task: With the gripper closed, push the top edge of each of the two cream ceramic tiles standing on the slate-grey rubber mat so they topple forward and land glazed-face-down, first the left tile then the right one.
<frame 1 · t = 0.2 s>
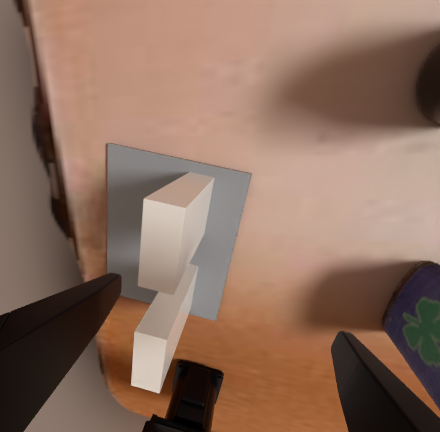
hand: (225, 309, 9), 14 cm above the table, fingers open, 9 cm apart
tile b: (197, 204, 22), resting on mat
flask: (406, 296, 23), on the table
mat: (169, 240, 24), on the table
tile a: (184, 285, 26), resting on mat
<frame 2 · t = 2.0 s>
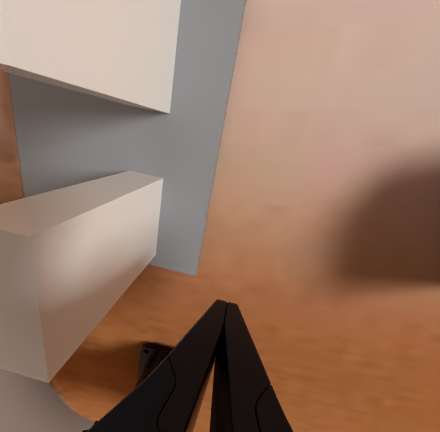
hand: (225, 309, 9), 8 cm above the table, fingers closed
tile b: (155, 52, 13), resting on mat
mat: (116, 136, 15), on the table
tile a: (143, 215, 16), resting on mat
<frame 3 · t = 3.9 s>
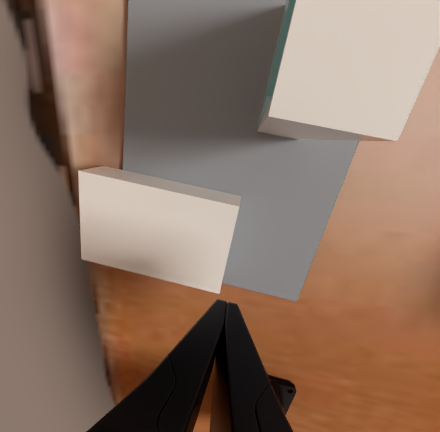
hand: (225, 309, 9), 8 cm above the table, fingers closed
tile b: (292, 77, 12), resting on mat
mat: (230, 160, 14), on the table
tile a: (230, 244, 14), point 2 cm above the table, tilted 90°, touching mat
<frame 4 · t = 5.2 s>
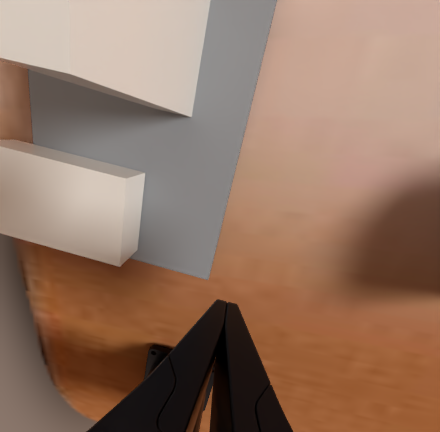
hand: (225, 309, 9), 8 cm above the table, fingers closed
tile b: (180, 55, 12), resting on mat
mat: (134, 137, 15), on the table
tile a: (132, 219, 15), point 2 cm above the table, tilted 90°, touching mat
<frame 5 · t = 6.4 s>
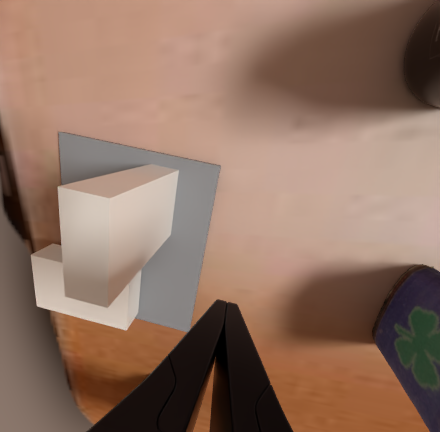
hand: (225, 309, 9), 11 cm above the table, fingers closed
tile b: (161, 201, 19), resting on mat
flask: (398, 304, 20), on the table
mat: (134, 242, 22), on the table
tile a: (134, 297, 22), point 2 cm above the table, tilted 90°, touching mat
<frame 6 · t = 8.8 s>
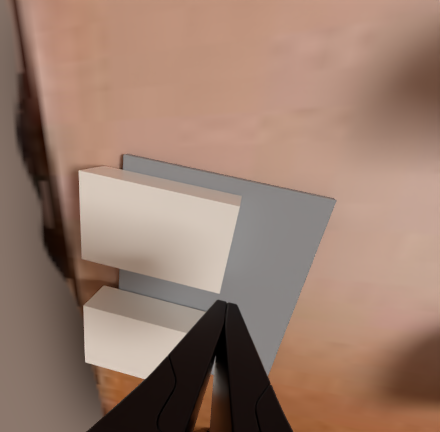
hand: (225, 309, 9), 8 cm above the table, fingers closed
tile b: (230, 244, 14), point 2 cm above the table, tilted 90°, touching mat
mat: (205, 285, 18), on the table
tile a: (205, 353, 18), point 2 cm above the table, tilted 90°, touching mat
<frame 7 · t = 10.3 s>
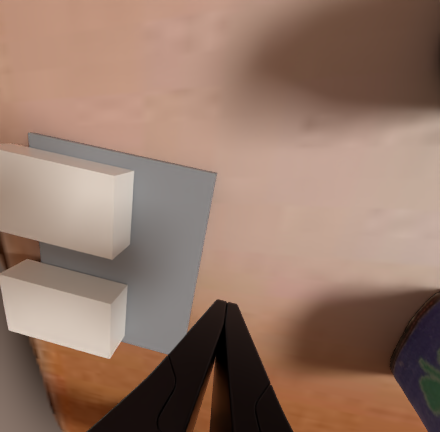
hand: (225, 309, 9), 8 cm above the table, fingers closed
tile b: (123, 215, 16), point 2 cm above the table, tilted 90°, touching mat
flask: (421, 332, 18), on the table
mat: (118, 258, 19), on the table
tile a: (118, 321, 19), point 2 cm above the table, tilted 90°, touching mat
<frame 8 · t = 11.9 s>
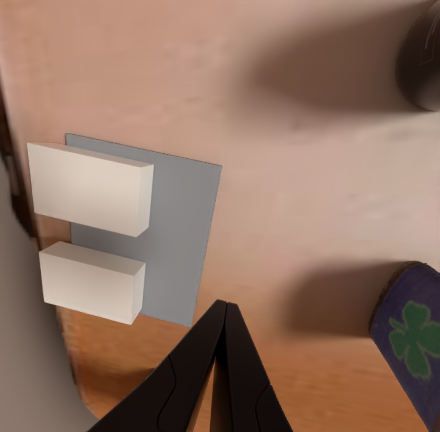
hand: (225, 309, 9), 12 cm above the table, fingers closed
tile b: (145, 200, 19), point 2 cm above the table, tilted 90°, touching mat
flask: (393, 300, 21), on the table
mat: (138, 239, 23), on the table
tile a: (138, 293, 23), point 2 cm above the table, tilted 90°, touching mat
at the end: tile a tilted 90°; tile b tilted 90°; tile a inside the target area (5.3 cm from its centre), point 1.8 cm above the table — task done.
